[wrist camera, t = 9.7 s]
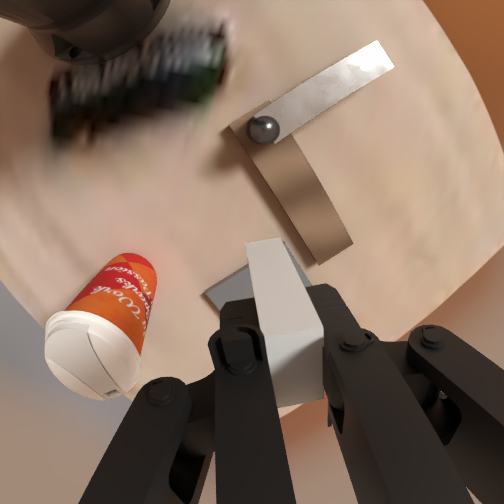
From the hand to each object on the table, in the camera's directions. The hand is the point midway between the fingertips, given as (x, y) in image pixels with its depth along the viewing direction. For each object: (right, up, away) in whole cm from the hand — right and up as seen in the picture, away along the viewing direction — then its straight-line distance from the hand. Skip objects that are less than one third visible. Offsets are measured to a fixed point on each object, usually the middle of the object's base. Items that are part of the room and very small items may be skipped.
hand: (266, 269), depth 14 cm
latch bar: (+5, +15, +13) cm, 21 cm away
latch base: (+4, +7, +17) cm, 19 cm away
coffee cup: (-14, -2, +20) cm, 24 cm away
